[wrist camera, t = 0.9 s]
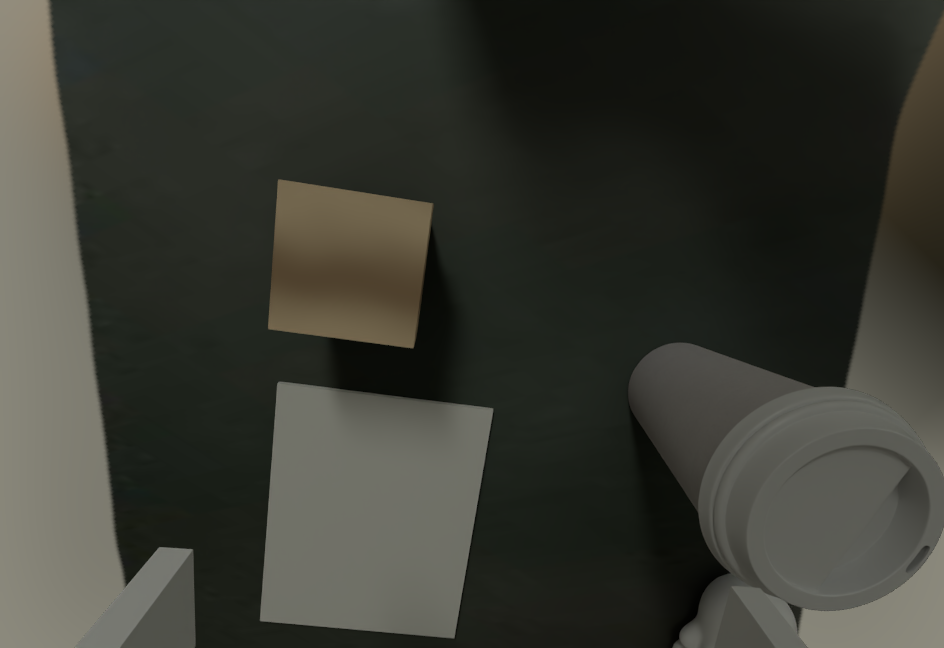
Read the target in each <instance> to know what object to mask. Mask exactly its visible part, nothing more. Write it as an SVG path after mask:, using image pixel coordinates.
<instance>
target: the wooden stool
mask: <svg viewBox="0 0 944 648" xmlns="http://www.w3.org/2000/svg"><path fill="white" fill-rule="evenodd" d="M433 208H434V204H432V203H426V202H420V201H413V200H407V199H400V198H394V197H388V196H381V195H375V194H369V193H362V192H356V191H349V190H343V189H337V188H330V187H324V186H317V185H311V184H305V183H298V182H292V181H285V180H279V179H278V191H277V206H276V221H275V235H274V250H273V265H272V279H271V294H270V309H269V324H268V329H272V330H279V331H287V332H294V333H302V334H309V335H317V336H324V337H332V338H339V339H347V340H354V341H362V342H369V343H376V344H384V345H391V346H399V347H406V348H414V344H415V340H416V336H417V329H418V321H419V314H420V306H421V299H422V291H423V284H424V276H425V269H426V261H427V254H428V246H429V238H430V231H431V223H432V216H433Z"/></svg>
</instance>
